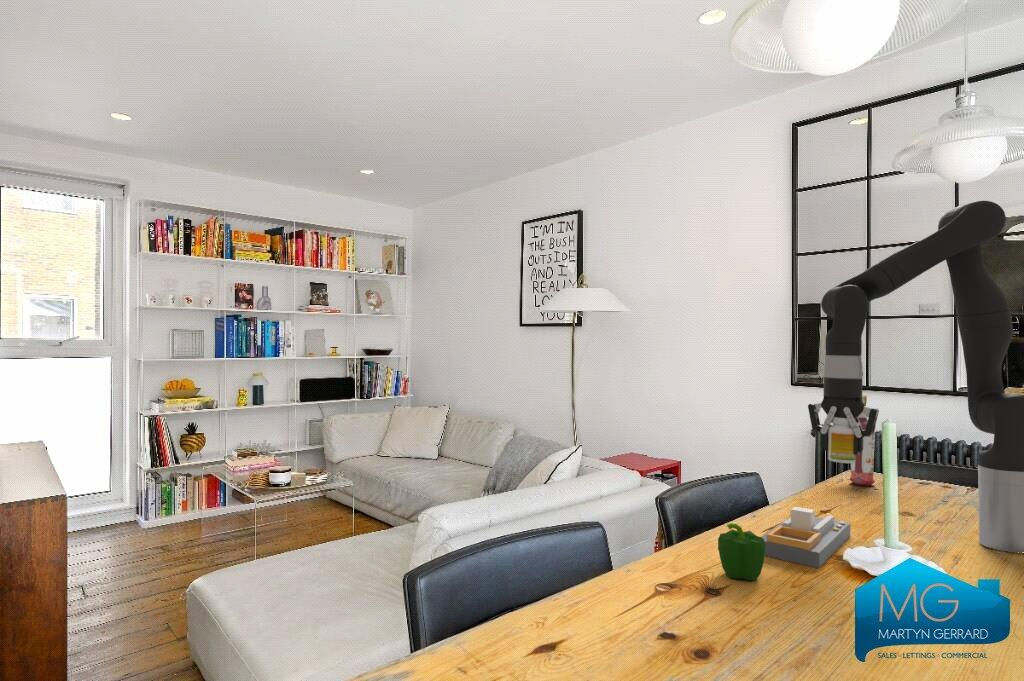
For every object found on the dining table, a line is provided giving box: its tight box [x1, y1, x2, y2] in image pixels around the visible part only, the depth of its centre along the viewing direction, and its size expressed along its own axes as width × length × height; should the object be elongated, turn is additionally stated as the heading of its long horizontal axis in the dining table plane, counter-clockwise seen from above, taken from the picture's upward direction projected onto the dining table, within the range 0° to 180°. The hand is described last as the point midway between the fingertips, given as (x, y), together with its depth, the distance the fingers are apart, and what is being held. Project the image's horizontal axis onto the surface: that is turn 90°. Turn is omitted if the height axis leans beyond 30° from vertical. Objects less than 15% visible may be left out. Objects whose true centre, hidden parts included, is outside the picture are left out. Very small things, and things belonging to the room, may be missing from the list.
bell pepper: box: [717, 522, 766, 581], centre depth 112 cm, size 8×8×10 cm
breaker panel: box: [760, 514, 851, 569], centre depth 130 cm, size 12×26×5 cm, turn 138°
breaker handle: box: [790, 506, 816, 532], centre depth 128 cm, size 4×3×5 cm
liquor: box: [849, 394, 876, 487], centre depth 186 cm, size 7×7×28 cm
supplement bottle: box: [827, 417, 856, 464], centre depth 131 cm, size 5×5×10 cm
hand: (841, 452), depth 131 cm, fingers closed on supplement bottle, 5 cm apart
